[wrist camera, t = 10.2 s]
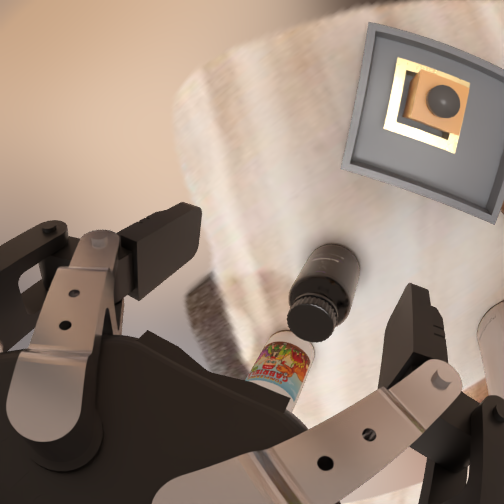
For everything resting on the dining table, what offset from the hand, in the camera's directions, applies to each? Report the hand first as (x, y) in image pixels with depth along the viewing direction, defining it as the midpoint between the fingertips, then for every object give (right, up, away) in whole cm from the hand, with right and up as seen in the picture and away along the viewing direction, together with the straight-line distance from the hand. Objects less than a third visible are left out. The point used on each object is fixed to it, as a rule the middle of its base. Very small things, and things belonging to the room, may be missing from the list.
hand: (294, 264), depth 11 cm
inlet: (+16, +16, +16) cm, 28 cm away
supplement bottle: (+9, -1, +28) cm, 30 cm away
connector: (+16, +15, +15) cm, 27 cm away
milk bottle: (+5, -15, +37) cm, 40 cm away
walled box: (+18, +14, +16) cm, 28 cm away
